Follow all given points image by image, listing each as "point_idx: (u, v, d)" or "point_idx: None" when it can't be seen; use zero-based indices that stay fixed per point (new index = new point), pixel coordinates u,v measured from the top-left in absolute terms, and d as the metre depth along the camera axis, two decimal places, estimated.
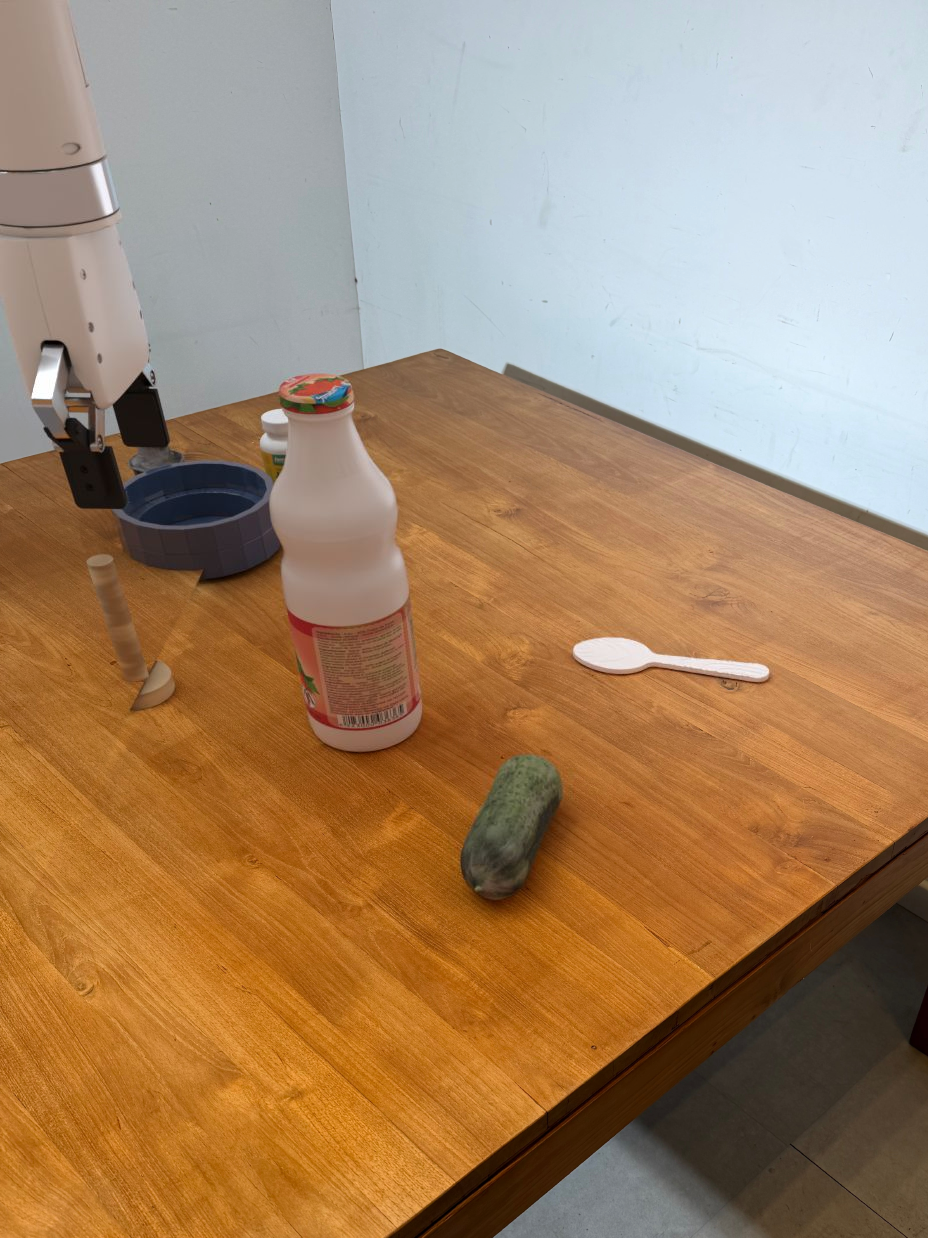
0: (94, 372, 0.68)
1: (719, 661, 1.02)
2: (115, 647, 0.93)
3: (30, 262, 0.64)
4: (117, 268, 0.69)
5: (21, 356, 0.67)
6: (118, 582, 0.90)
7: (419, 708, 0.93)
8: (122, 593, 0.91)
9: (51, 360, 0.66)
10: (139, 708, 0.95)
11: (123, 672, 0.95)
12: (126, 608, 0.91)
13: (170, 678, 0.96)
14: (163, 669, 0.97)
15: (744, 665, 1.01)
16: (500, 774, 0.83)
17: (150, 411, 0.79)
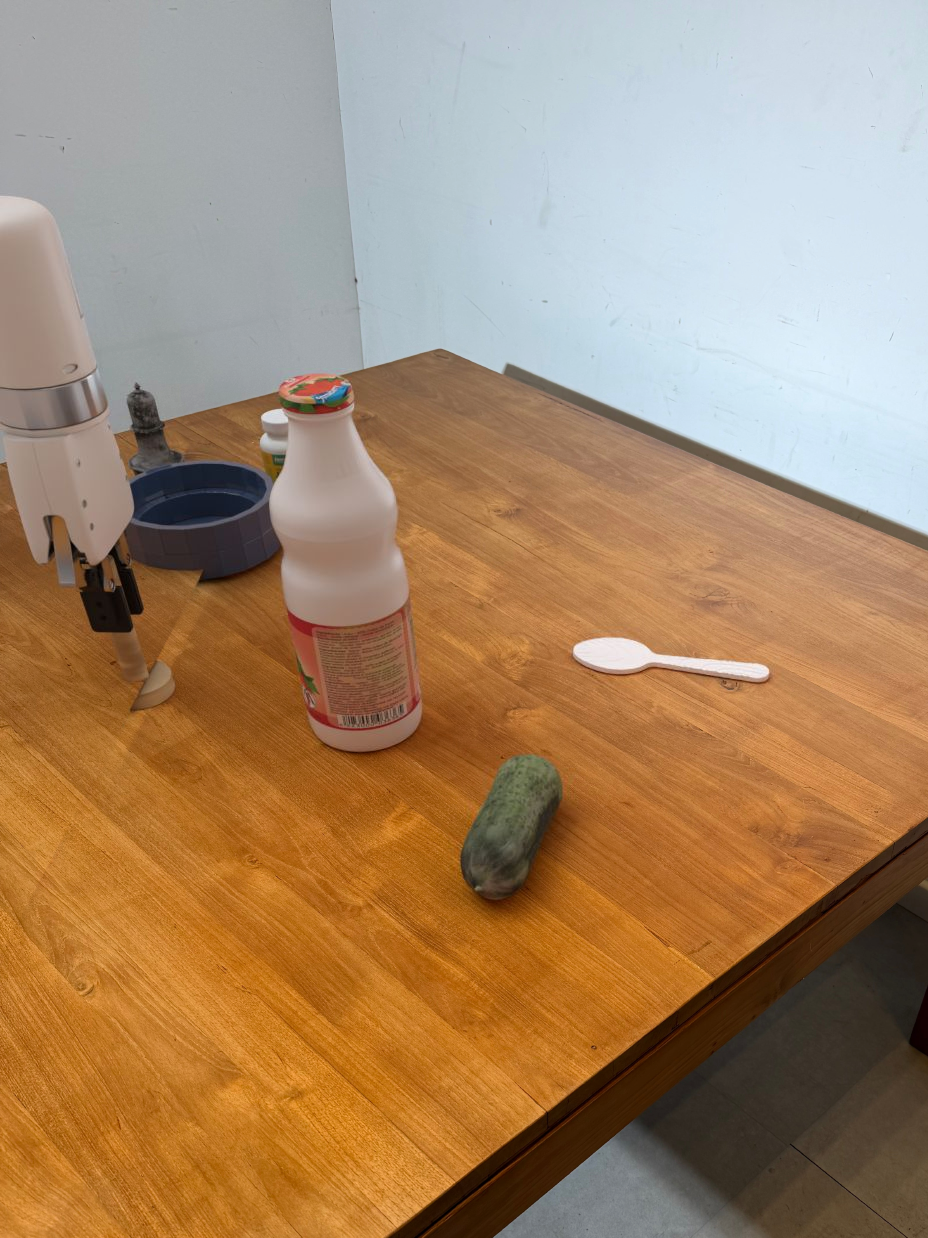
0: (87, 538, 0.82)
1: (719, 661, 1.02)
2: (115, 647, 0.93)
3: (35, 457, 0.78)
4: (106, 449, 0.84)
5: (27, 527, 0.81)
6: (118, 582, 0.90)
7: (419, 708, 0.93)
8: None
9: (62, 544, 0.82)
10: (139, 708, 0.95)
11: (123, 672, 0.95)
12: None
13: (170, 678, 0.96)
14: (163, 669, 0.97)
15: (744, 665, 1.02)
16: (500, 774, 0.83)
17: (126, 587, 0.91)
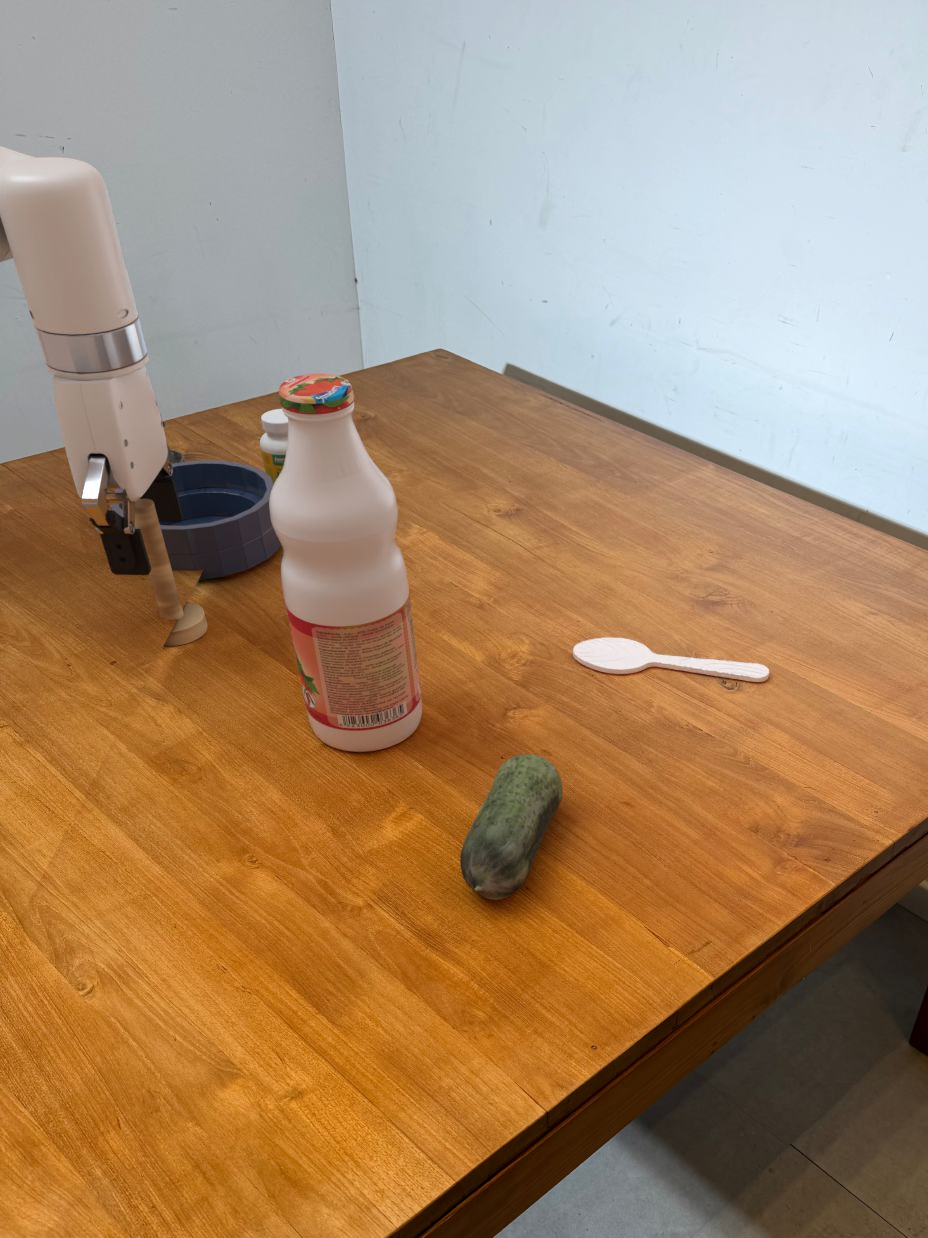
0: (128, 475, 0.89)
1: (719, 661, 1.02)
2: (154, 586, 1.00)
3: (82, 398, 0.86)
4: (144, 394, 0.91)
5: (73, 464, 0.89)
6: (158, 524, 0.97)
7: (419, 708, 0.93)
8: (161, 535, 0.98)
9: (96, 468, 0.88)
10: (175, 644, 1.02)
11: (160, 611, 1.02)
12: (164, 549, 0.99)
13: (203, 617, 1.04)
14: (197, 609, 1.04)
15: (744, 665, 1.02)
16: (500, 774, 0.83)
17: (167, 495, 1.00)
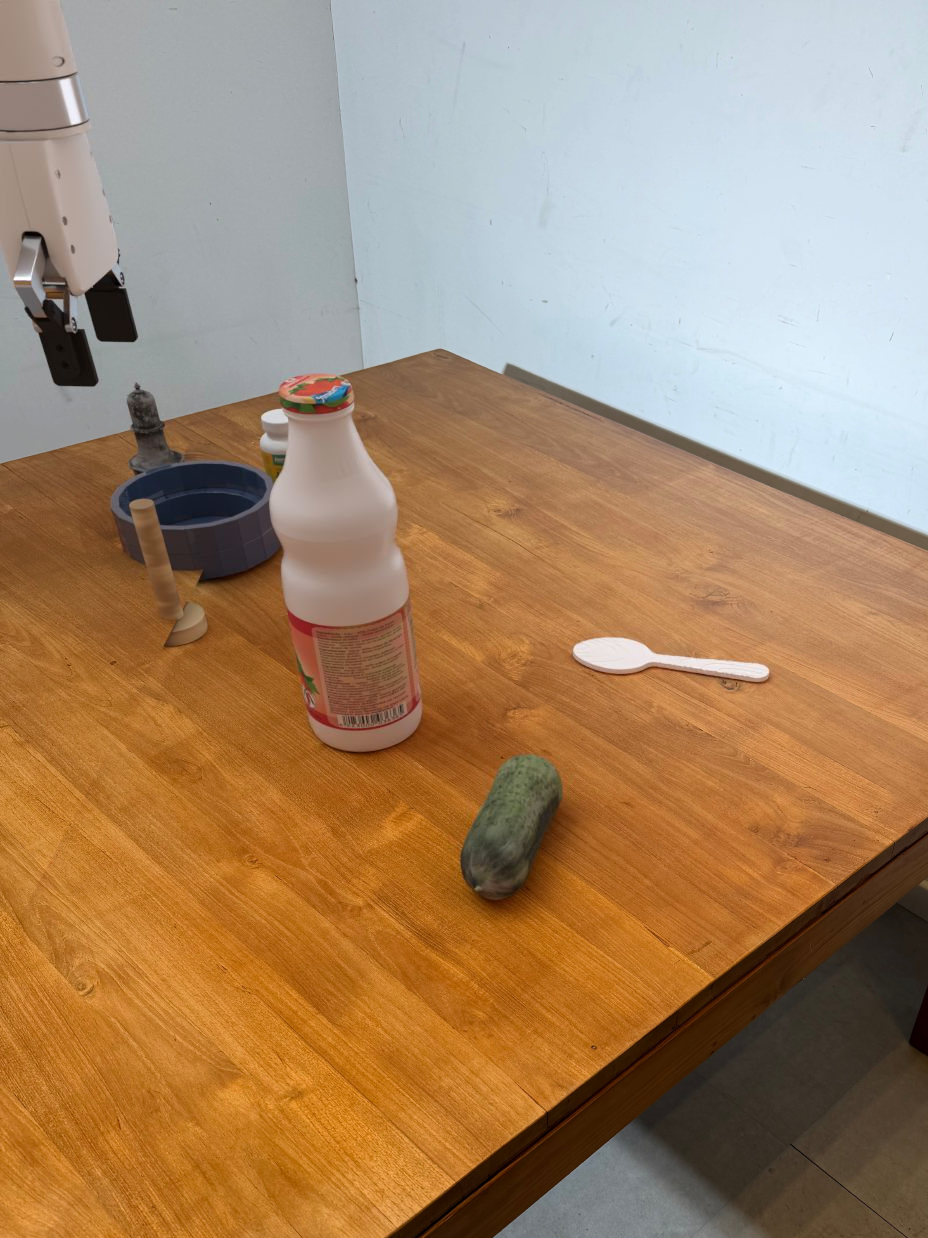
0: (68, 260, 0.79)
1: (719, 661, 1.02)
2: (154, 586, 1.00)
3: (12, 162, 0.75)
4: (88, 174, 0.81)
5: (5, 246, 0.78)
6: (158, 524, 0.97)
7: (419, 708, 0.93)
8: (161, 535, 0.98)
9: (30, 248, 0.77)
10: (175, 644, 1.02)
11: (160, 611, 1.02)
12: (164, 549, 0.99)
13: (203, 617, 1.04)
14: (197, 609, 1.04)
15: (744, 665, 1.02)
16: (500, 774, 0.83)
17: (120, 308, 0.90)
